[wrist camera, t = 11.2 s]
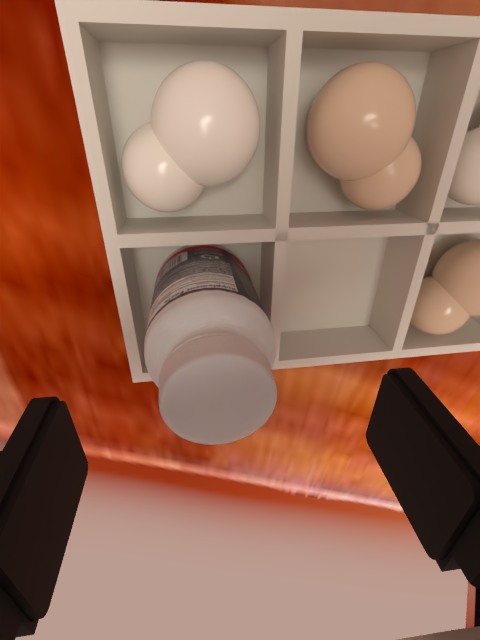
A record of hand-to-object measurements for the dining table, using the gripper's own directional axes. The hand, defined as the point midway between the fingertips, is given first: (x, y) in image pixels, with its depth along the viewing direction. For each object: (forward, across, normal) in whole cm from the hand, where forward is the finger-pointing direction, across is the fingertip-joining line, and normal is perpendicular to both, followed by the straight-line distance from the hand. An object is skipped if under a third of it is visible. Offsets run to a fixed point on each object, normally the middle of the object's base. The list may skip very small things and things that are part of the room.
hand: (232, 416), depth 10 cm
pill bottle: (+11, +1, +1) cm, 11 cm away
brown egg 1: (+11, -7, -7) cm, 15 cm away
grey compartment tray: (+12, -7, -3) cm, 14 cm away
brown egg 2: (+11, -14, +1) cm, 18 cm away
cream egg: (+11, +1, -7) cm, 13 cm away
